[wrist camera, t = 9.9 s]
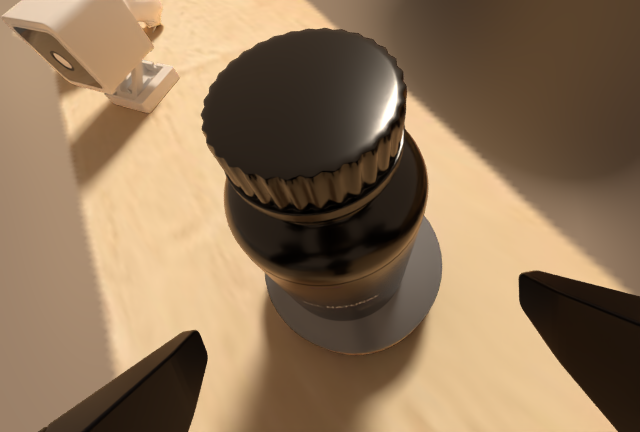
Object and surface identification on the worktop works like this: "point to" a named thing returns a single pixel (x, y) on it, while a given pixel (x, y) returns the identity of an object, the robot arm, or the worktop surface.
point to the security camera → (94, 48)
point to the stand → (384, 323)
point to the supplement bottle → (319, 167)
